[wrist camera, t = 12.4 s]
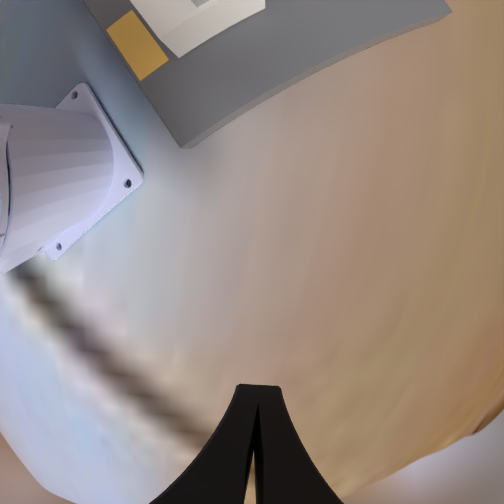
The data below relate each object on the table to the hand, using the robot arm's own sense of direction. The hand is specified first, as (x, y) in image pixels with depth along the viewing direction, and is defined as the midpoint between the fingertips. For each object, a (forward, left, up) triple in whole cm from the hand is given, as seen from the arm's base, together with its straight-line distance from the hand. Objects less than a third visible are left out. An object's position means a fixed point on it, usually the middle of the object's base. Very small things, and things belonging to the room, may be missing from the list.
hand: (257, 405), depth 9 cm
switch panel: (+10, +22, -9) cm, 26 cm away
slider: (+6, +16, -7) cm, 18 cm away
